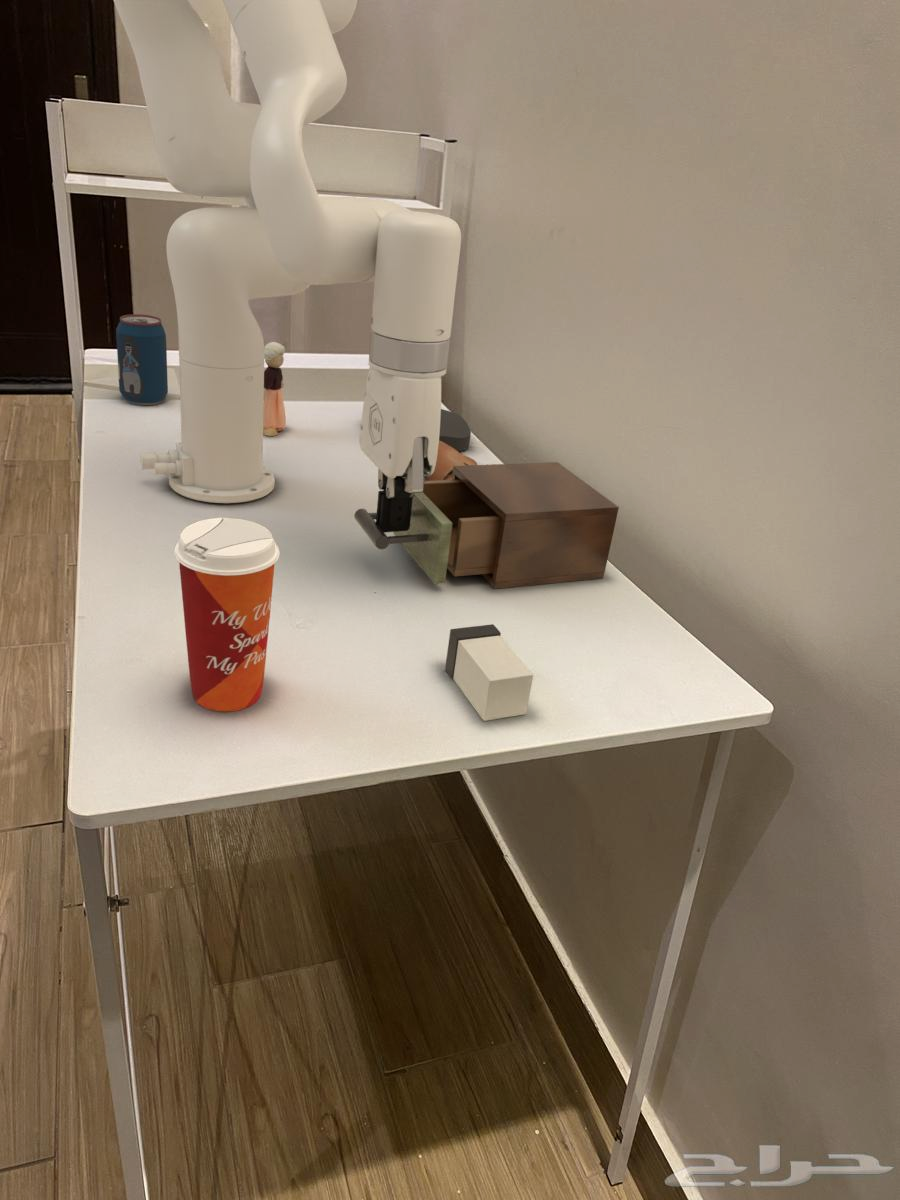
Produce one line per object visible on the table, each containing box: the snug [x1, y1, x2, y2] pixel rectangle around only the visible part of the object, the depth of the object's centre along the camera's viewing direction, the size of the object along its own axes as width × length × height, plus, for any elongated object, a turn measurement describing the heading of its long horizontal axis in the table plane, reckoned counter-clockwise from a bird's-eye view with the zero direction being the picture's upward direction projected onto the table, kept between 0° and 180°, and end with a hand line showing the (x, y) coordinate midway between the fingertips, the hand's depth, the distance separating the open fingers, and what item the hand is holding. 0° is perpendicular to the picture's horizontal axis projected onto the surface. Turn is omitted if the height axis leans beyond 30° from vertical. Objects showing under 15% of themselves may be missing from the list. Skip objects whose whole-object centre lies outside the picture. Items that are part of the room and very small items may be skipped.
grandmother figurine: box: [263, 341, 287, 437], centre depth 129 cm, size 8×4×13 cm, turn 179°
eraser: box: [444, 623, 534, 722], centre depth 78 cm, size 8×4×4 cm, turn 23°
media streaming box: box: [439, 408, 472, 452], centre depth 137 cm, size 15×15×3 cm
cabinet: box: [452, 461, 620, 590], centre depth 102 cm, size 14×14×9 cm
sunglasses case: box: [424, 440, 478, 481], centre depth 120 cm, size 18×7×7 cm
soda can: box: [115, 313, 169, 406], centre depth 135 cm, size 7×7×12 cm
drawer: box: [354, 479, 502, 585], centre depth 98 cm, size 18×12×7 cm
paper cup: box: [173, 517, 281, 712], centre depth 71 cm, size 8×8×14 cm
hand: (392, 528), depth 95 cm, fingers closed
